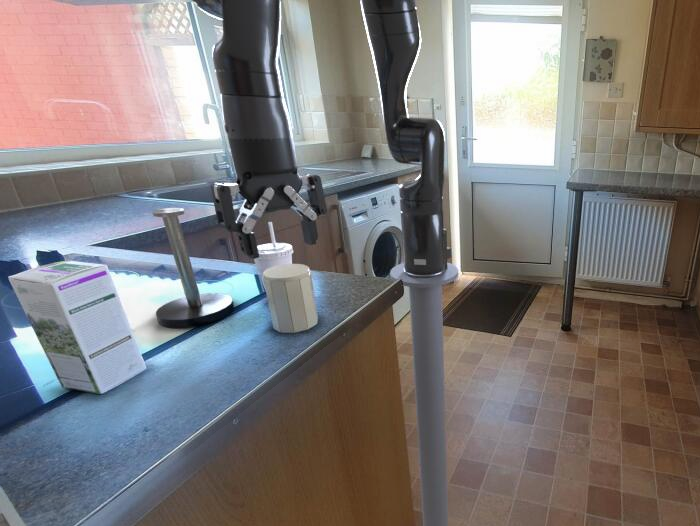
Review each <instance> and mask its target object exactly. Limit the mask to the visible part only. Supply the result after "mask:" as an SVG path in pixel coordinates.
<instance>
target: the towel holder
mask: <svg viewBox="0 0 700 526" xmlns="http://www.w3.org/2000/svg"><path fill="white" fill-rule="evenodd" d="M181 215H182V216H183V215H185V209H184V208H182V207H166V208H158V209H154V210H152V216H153V217H155V218H162V222H163V225H164V228H165V232H166V235H167V239H168V242H169V245H170V249H171V252H172V255H173V259H174V262H175V265H176V269H177V273H178V276H179V279H180V282H181V283H180V284H181V286H182V289H183V293H184V296H183V297H180V298H177V299H173V300H171V301H169V302H166V303H164V304H162V306H160V307H159V308H158V309H157V310H156V312H155V316H156V319H157V322H158V324H159V325H160V326H162V327H164V328H169V329H188V328H189V329H190V328H196V327H201V326H205V325H209V324H212V323H215V322H218V321H220V320H223V319H224V318H226V317H228V316H229V315H231V314H232V313H233V312H234V310H235V304H234V300H233V298H232V297H231V296H230V295H229V294H225V293H218V292H217V293H216V292H209V293H200V291H199V287H198V284H197V279H196V276H195V273H194V269H193V266H192V262H191V258H190V254H189V251H188V248H187V243H186V241H185V237H184V233H183V230H182V227H181V226H182V225H181V223H180V219H179V216H181Z"/></svg>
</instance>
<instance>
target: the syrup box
mask: <svg viewBox="0 0 700 526" xmlns="http://www.w3.org/2000/svg"><path fill="white" fill-rule="evenodd" d="M7 278H8V280H9V284H10V285H11V287H12V289H13V292H14V293H15V295H16V297H17V299H18V302H19V303H20V305H21V307H22V309H23V312H24V314H25V316H26V318H27V320H28V322H29V324H30V325H31V327H32V330H33V332H34V333H35V336H36V338H37V340H38V343H39V344H40V346H41V348H42V350H43V352H44V354H45V356H46V358H47V360H48V363H49V365H50V366H51V368H52V370H53V372H54V374H55V376H56V378H57V381H58V382H59V384H60V386H61V388H62V389H67V390H73V391H80V392H85V393H92V394H97V395H102V394H106V393H107V392H108V391H110V390H112V389H114V388H116V387H118V386H120V385H122V384H124V383H125V382H127V381H128V380H131V379H132V378H134V377H136V376H137V375H139V374H140V373H142V372H144V371H146V370H147V366H146V363H145V360H144V358H143V354H142V352H141V349H140V347H139V344H138V342H137V339H136V337H135V335H134V331H133V329H132V327H131V324H130V322H129V319H128V317H127V314H126V311H125V309H124V305H123V303H122V301H121V297H120V295H119V293H118V290H117V287H116V284H115V282H114V279H113V276H112V275H111V272H110V270H109V267H108V265H107V264H103V263H102V264H101V263H92V262H84V261H74V260H61V261H57V262H56V261H55V262H51V263H48V264H47V263H46V264H42V265H39V266H37V267H33V268H30V269H27V270H24V271H21V272H19V273H16V274H13V275H9V276H7Z"/></svg>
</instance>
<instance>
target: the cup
mask: <svg viewBox="0 0 700 526" xmlns="http://www.w3.org/2000/svg"><path fill="white" fill-rule="evenodd" d="M263 276H264V278H263V281H264V285H265V288H264V290H266V291H265V294H266V299H267V304H268V308H269V309H268V310H269V313H270V318H271V322H272V327H273V330H275V331H277V332H279V333H282V334H295V333H300V332H303V331H307V330H310V329H311V328H313V327H314V326H316V325H318V321H319V316H318V309H317V303H316V298H315V297H316V296H315V290H314V284H313V278H312V272H311V269H310V267H309V266H308V265H306V264H302V263H292V264H284V265H279V266H275V267H271V268H269V269H267V270H265V271H264V273H263Z"/></svg>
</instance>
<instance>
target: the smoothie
mask: <svg viewBox="0 0 700 526" xmlns="http://www.w3.org/2000/svg"><path fill="white" fill-rule="evenodd" d="M267 224H268V229H269V235H270V239H271V242H270V243H263V244H259V245H258V244H257V248H258V252H259V258H256V259H253V260H254V264H255V267H256V269H257V272H258V275H259V278H260V280H261V283H262V286H263V288H264V290H265V285H264V281H263V278H264V276H263V273H264V271H265V270H267V269H269V268H271V267H275V266H279V265H284V264H293V255H292V254H294V249H293V245H291V244H289V243H285V242H277V240H276V235H275V231H274V225H273V222H272V221H268V222H267ZM265 292H266V290H265Z"/></svg>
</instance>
